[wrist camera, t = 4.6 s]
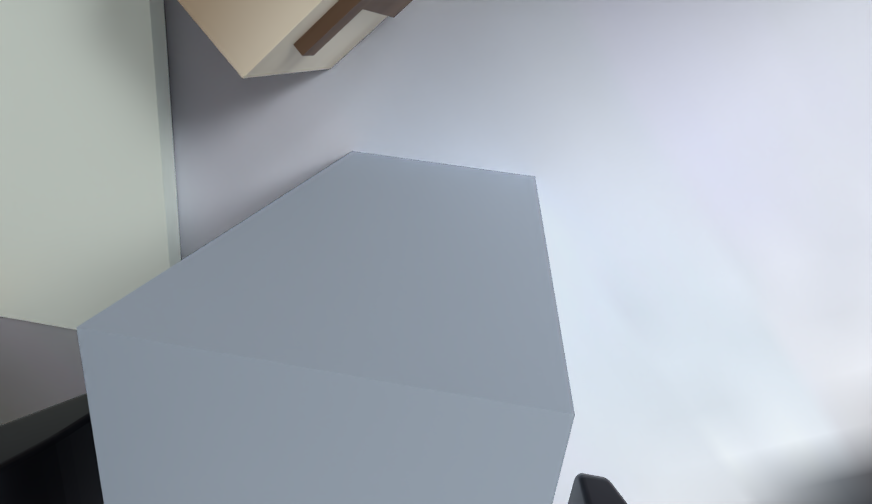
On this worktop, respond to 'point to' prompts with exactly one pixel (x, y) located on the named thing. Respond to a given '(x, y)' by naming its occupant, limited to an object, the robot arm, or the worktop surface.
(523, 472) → the blue gray block
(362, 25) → the beige cube
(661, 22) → the worktop surface
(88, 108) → the sage tile
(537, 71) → the worktop surface
